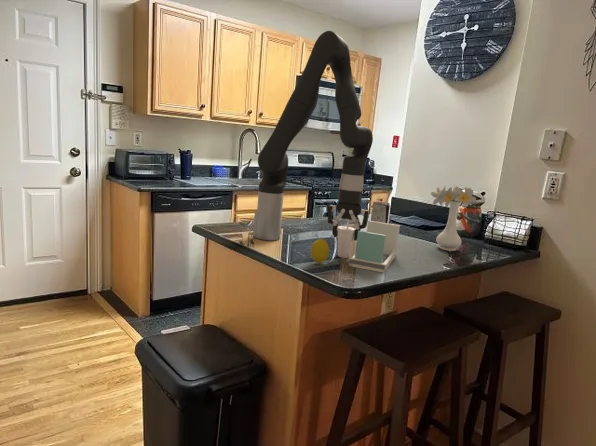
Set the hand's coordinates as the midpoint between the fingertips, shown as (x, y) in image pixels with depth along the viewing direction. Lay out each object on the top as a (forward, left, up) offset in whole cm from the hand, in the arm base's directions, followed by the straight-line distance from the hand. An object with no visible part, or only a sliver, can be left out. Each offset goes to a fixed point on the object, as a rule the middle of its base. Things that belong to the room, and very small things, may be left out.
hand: (345, 238), depth 142 cm
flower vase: (+31, +39, -6) cm, 50 cm away
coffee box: (+6, +26, -6) cm, 27 cm away
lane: (+10, +2, -6) cm, 12 cm away
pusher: (+10, -8, -5) cm, 14 cm away
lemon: (-4, -14, -6) cm, 16 cm away
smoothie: (0, 0, -6) cm, 6 cm away
